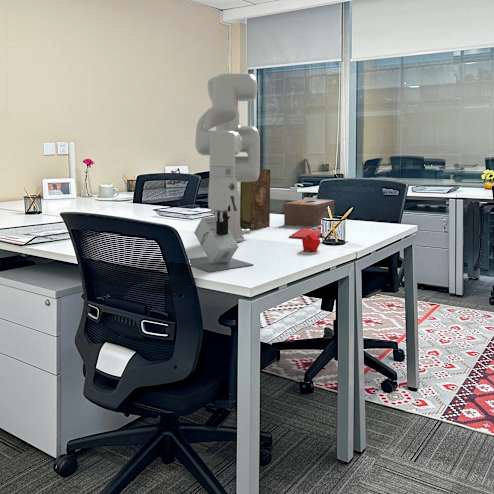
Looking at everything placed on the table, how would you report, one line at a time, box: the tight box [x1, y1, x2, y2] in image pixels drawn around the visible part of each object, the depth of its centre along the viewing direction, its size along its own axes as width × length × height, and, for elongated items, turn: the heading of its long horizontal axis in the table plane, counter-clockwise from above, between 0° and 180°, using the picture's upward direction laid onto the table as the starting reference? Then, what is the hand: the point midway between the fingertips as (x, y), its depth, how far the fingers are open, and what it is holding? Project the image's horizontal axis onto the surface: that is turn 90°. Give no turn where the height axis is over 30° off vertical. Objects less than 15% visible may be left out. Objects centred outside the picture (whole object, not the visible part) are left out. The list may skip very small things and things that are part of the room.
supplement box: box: [193, 216, 240, 264], centre depth 177 cm, size 7×7×13 cm
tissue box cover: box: [283, 198, 336, 228], centre depth 268 cm, size 26×14×10 cm, turn 152°
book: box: [239, 168, 271, 231], centre depth 249 cm, size 16×6×25 cm, turn 146°
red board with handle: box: [288, 226, 323, 240], centre depth 236 cm, size 30×3×15 cm
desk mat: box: [188, 256, 254, 273], centre depth 177 cm, size 16×18×1 cm
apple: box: [301, 233, 322, 253], centre depth 199 cm, size 7×7×8 cm
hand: (222, 234), depth 173 cm, fingers closed
